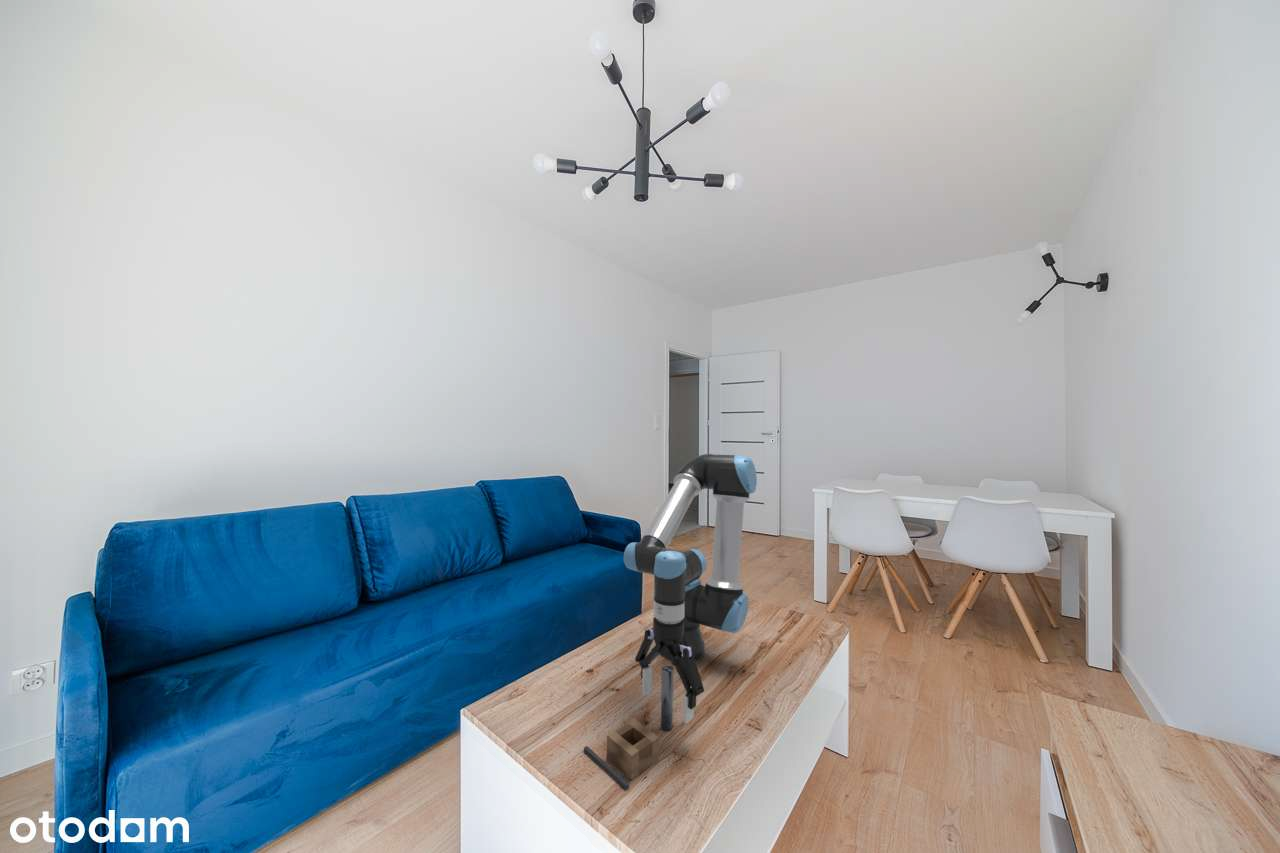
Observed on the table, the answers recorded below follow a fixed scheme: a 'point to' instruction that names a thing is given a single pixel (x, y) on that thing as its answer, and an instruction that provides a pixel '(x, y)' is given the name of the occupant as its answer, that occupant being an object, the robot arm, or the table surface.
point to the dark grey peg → (667, 698)
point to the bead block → (632, 748)
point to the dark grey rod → (606, 768)
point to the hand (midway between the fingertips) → (666, 706)
